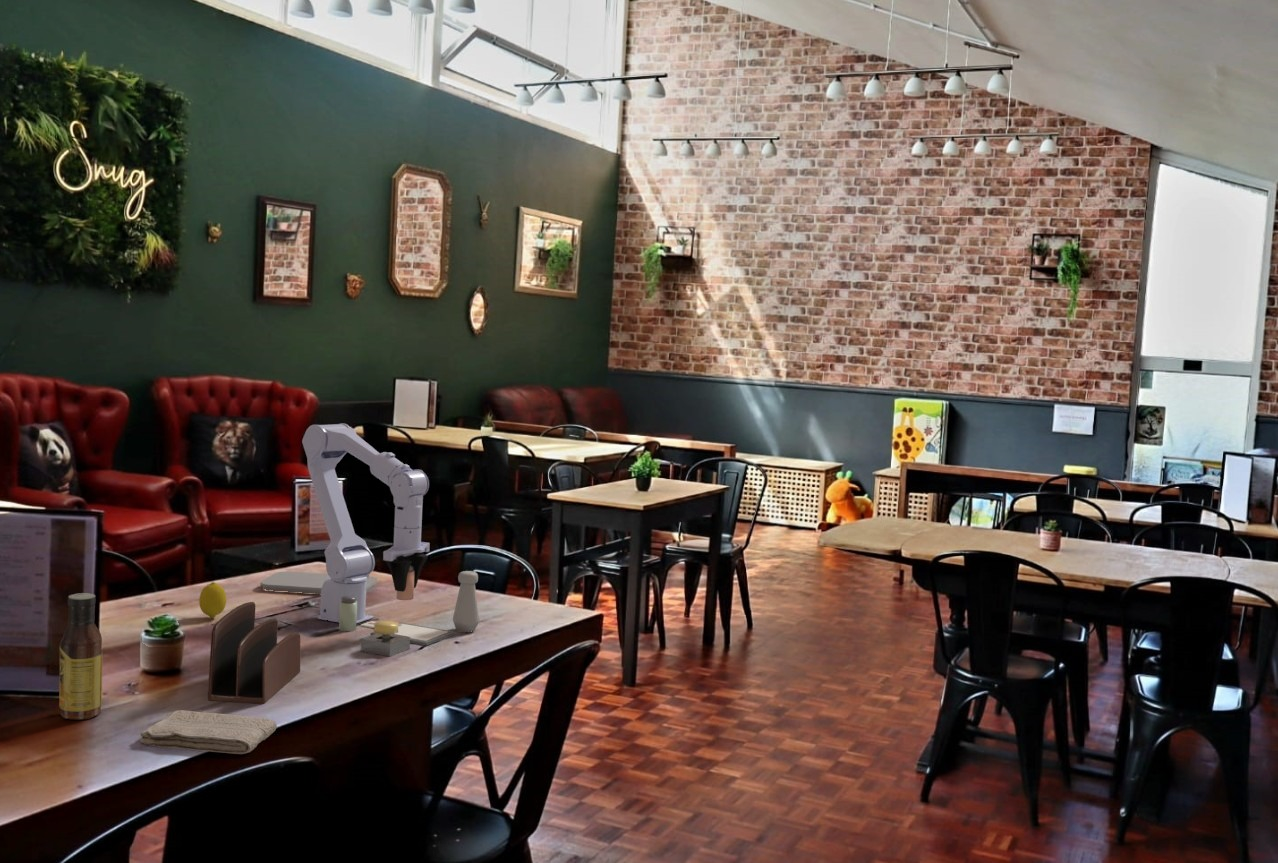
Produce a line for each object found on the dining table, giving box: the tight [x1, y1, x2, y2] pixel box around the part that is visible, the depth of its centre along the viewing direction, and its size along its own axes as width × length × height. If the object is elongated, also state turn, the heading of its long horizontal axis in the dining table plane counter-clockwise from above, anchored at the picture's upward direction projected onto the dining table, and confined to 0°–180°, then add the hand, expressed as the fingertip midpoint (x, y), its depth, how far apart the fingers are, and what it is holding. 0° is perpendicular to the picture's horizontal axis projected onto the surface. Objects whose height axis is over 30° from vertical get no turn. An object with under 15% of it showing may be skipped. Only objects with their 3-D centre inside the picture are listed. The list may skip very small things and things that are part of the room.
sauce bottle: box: [58, 592, 103, 721], centre depth 189 cm, size 7×6×20 cm
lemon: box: [198, 582, 227, 619], centre depth 256 cm, size 6×6×8 cm
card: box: [360, 620, 377, 629], centre depth 258 cm, size 5×4×1 cm
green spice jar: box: [338, 596, 357, 632], centre depth 253 cm, size 4×4×7 cm
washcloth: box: [139, 709, 278, 755], centre depth 184 cm, size 12×18×3 cm, turn 86°
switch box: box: [360, 633, 411, 657], centre depth 239 cm, size 7×7×2 cm
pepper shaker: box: [396, 565, 415, 601], centre depth 253 cm, size 4×4×7 cm
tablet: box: [259, 571, 378, 594], centre depth 291 cm, size 16×26×2 cm, turn 88°
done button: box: [373, 620, 399, 640], centre depth 239 cm, size 5×5×4 cm
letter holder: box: [207, 601, 301, 705], centre depth 211 cm, size 10×20×14 cm, turn 179°
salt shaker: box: [452, 570, 480, 633], centre depth 258 cm, size 6×6×13 cm
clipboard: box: [370, 622, 456, 646], centre depth 252 cm, size 14×11×1 cm
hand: (405, 589), depth 253 cm, fingers closed on pepper shaker, 4 cm apart
